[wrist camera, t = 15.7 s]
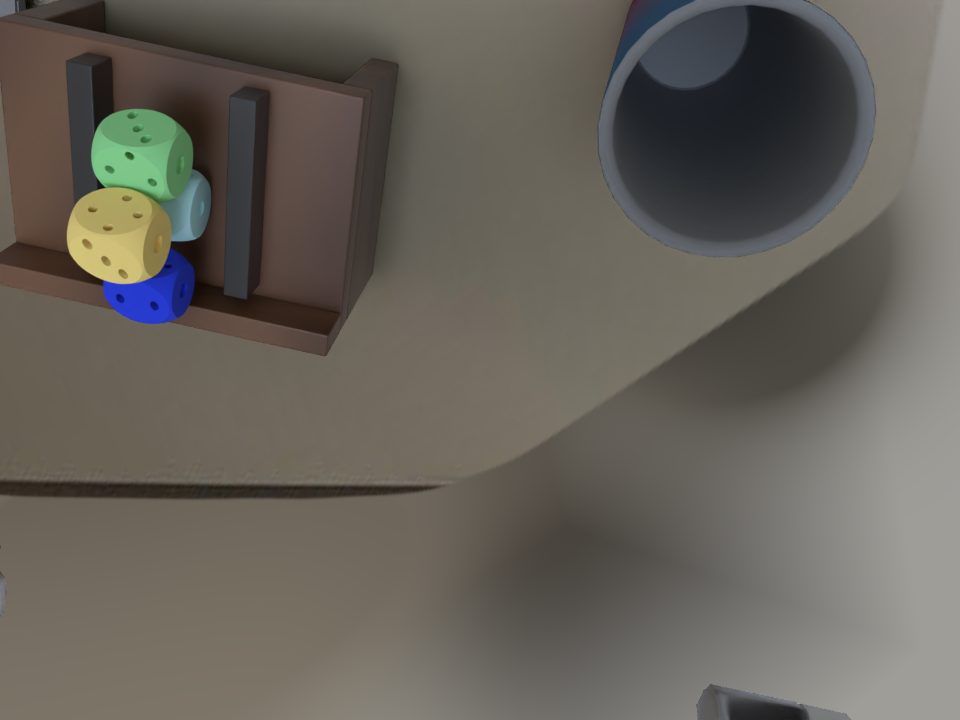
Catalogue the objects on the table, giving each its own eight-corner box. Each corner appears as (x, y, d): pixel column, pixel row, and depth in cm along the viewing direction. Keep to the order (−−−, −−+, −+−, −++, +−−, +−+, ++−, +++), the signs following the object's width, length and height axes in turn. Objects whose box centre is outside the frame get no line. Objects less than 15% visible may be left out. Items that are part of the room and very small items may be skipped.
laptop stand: (399, 63, 38) (351, 111, 31) (372, 275, 43) (326, 357, 36) (77, -6, 38) (-42, 27, 31) (88, 213, 43) (-11, 283, 36)
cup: (793, -64, 33) (907, -7, 21) (762, 119, 37) (843, 266, 24) (610, -68, 34) (609, -16, 21) (596, 111, 38) (588, 250, 25)
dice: (204, 303, 37) (133, 365, 31) (143, 289, 37) (60, 349, 31) (217, 107, 34) (140, 136, 28) (149, 93, 34) (58, 118, 28)
